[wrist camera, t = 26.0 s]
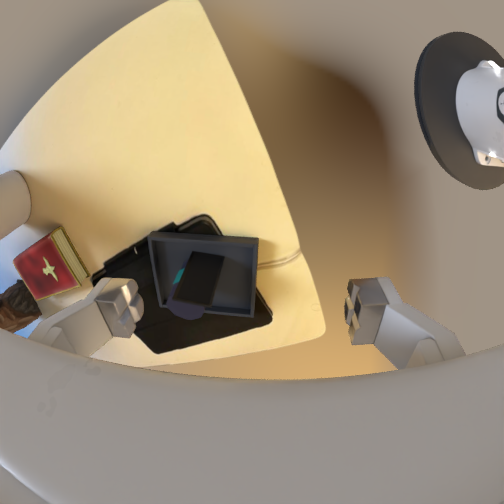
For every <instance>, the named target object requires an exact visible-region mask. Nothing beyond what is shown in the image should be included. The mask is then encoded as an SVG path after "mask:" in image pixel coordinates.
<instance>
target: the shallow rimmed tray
mask: <svg viewBox="0 0 504 504" xmlns="http://www.w3.org/2000/svg"><path fill="white" fill-rule="evenodd" d="M147 238H148V245H149V251H150V257H151V263H152V269H153V275H154V280H155V286H156V291H157V296H158V301H159V305H160V307H165V308H168V307H167V304H166V303H167V300H168V297H169V295H170V292H171V290H172V288H173V285H174V284H173V283H174V280H175V278H176V276H177V274H178V272H179V270H181V268H182V266H183V263H184V261H186V260H188V259H189V257H190V255H191V253H192V251H196V252H202V253H208V254H214V255H220V256H225V259H224V263H223V266H222V270H221V274H220V277H219V281H218V284H217V288H216V291H215V295H214V299H213V302H212V306H211V308H208V307H205V311H204V313H213V314H222V315H232V316H243V317H254V309H255V293H256V276H257V259H258V241H259V238H248V237H234V236H220V235H204V234H189V233H172V232H155V231H152V232H151V233H150V235H149V236H148V237H147Z"/></svg>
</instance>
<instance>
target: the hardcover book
mask: <svg viewBox="0 0 504 504" xmlns="http://www.w3.org/2000/svg"><path fill="white" fill-rule="evenodd" d="M13 264H14V266H15V268H16V269H17V271H18V273H19V275H20V276H21V278H22V280H23V281H24V283H25V284H26V286H27V288H28V289H29V291H30V292H31V294H32V295H33V297H34V298H35V300H36V301H39V300H42V299H45V298H48V297H50V296H53V295H56V294H59V293H62V292H65V291H68V290H71V289H74V288H77V287H80V286H81V282H82V281H83V280H84V278H86V277H89V276H90V274H89V272H88V270H87V269H86V267H85V265H84V264H83V262H82V260H81V259H80V257H79V255H78V254H77V252H76V250H75V248H74V247H73V245H72V243H71V241H70V239H69V237H68V236H67V234H66V232H65V230H64V228H63V227H59V228H57V229H56V230H54V231H52V232H51V233H49V234H48V235H46V236H45V237H43V238H42V239H40V240H39V241H38V242H36V243H35V244H33V245H32V246H30V247H29V248H28V249H26V250H25V251H23V252H22V253H21V254H19V255H18V256H17V257H16V258H15V259H14V260H13Z"/></svg>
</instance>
